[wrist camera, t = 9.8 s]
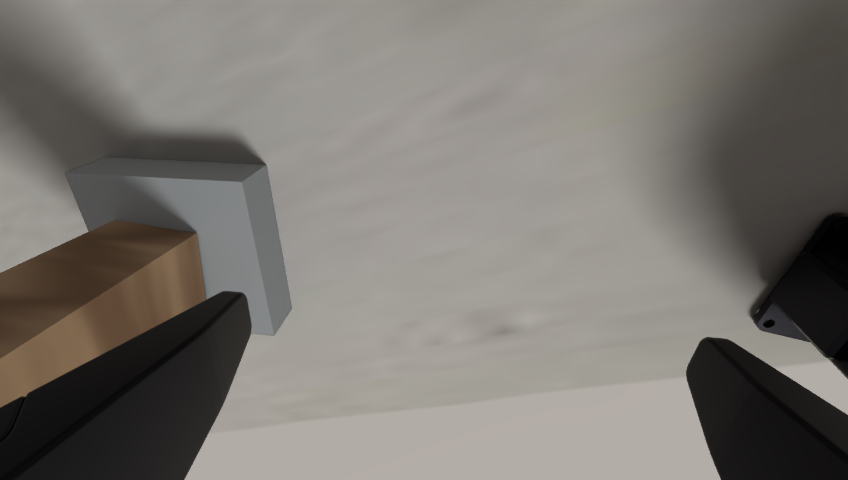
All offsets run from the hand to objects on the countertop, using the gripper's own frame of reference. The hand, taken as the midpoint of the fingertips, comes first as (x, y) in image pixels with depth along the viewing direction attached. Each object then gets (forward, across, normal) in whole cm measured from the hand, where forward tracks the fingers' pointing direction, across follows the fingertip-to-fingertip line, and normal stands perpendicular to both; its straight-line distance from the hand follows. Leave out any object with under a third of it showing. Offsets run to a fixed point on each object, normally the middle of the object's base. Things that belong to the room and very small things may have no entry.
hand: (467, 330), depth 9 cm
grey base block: (+14, +14, +7) cm, 21 cm away
